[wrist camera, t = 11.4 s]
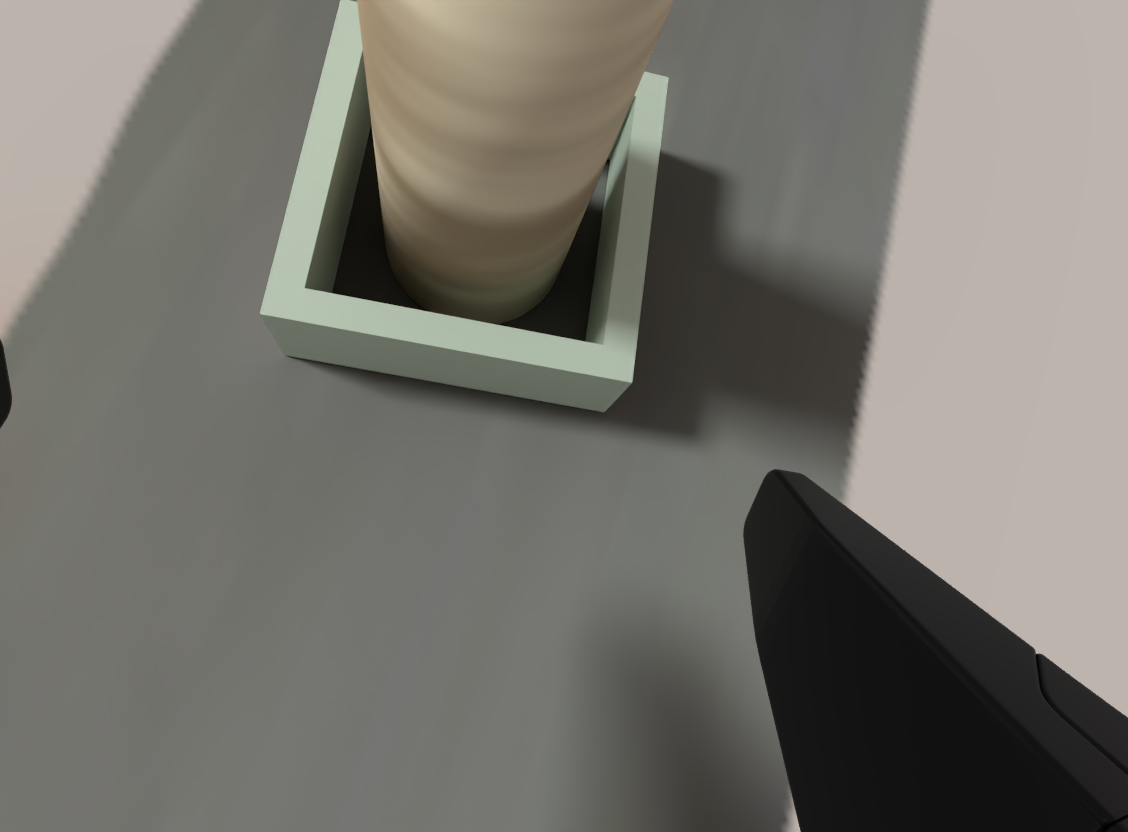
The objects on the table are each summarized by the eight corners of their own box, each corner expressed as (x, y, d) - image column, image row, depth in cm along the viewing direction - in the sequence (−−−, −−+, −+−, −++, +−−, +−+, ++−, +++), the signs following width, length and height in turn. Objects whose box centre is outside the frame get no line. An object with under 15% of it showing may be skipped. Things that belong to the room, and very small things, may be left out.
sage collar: (604, 412, 21) (632, 382, 18) (285, 355, 20) (260, 314, 17) (638, 142, 23) (668, 77, 20) (353, 77, 22) (341, -2, 19)
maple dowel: (592, 286, 22) (821, -126, 9) (431, 353, 20) (441, -20, 8) (516, 140, 22) (632, -435, 10) (355, 196, 21) (253, -382, 8)
